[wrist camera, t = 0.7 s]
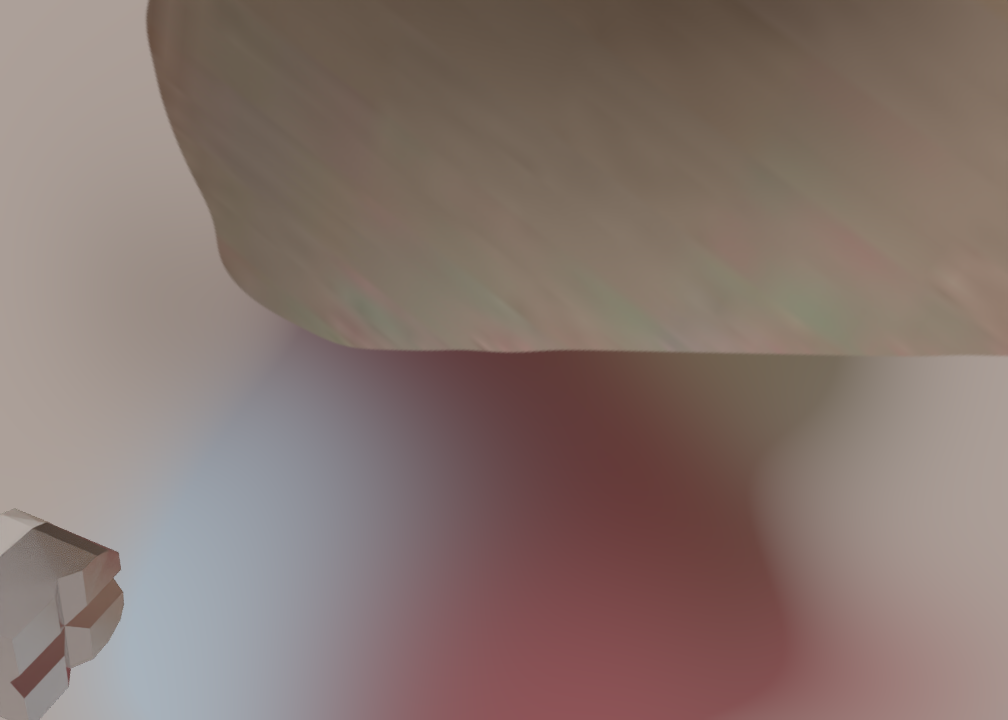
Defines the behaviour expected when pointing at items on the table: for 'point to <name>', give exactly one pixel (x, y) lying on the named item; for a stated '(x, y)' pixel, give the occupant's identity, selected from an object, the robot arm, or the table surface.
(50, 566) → the robot arm
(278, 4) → the table surface
